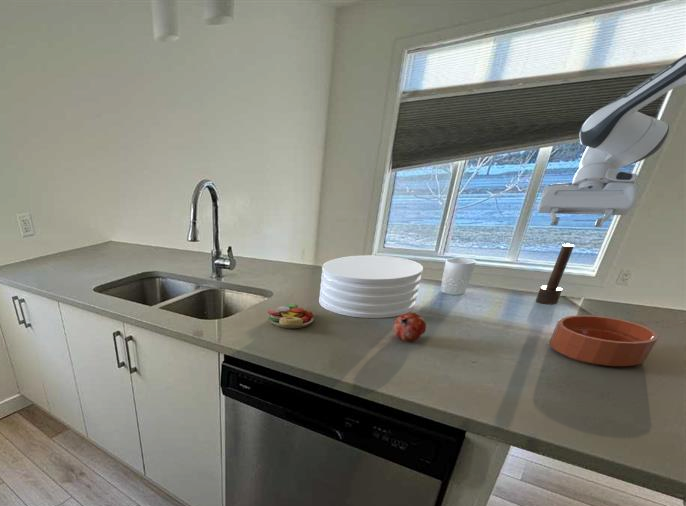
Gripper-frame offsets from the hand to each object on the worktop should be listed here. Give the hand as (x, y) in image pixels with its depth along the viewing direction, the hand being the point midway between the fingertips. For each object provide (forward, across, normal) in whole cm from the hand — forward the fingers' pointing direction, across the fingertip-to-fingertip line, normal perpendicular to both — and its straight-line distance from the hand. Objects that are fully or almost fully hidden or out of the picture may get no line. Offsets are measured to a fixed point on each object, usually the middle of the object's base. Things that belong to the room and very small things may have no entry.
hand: (575, 225), depth 116 cm
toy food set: (+58, -55, -30) cm, 85 cm away
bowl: (+46, +11, -19) cm, 51 cm away
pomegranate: (+55, -24, -28) cm, 66 cm away
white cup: (+24, -23, +4) cm, 33 cm away
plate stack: (+39, -43, -12) cm, 59 cm away
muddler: (+22, 0, +5) cm, 23 cm away
